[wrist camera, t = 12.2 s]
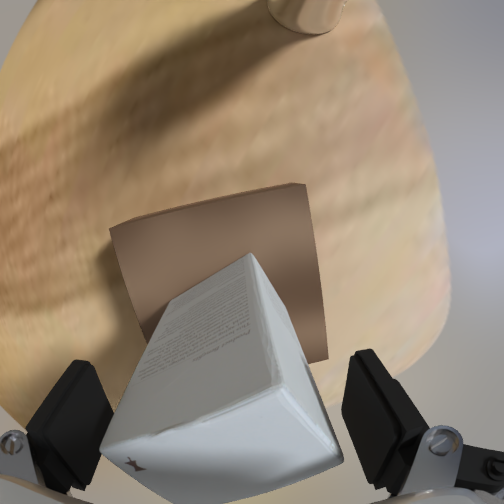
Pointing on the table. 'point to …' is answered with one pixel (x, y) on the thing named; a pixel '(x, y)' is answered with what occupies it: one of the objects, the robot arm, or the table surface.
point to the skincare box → (222, 398)
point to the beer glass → (307, 14)
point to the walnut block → (227, 255)
